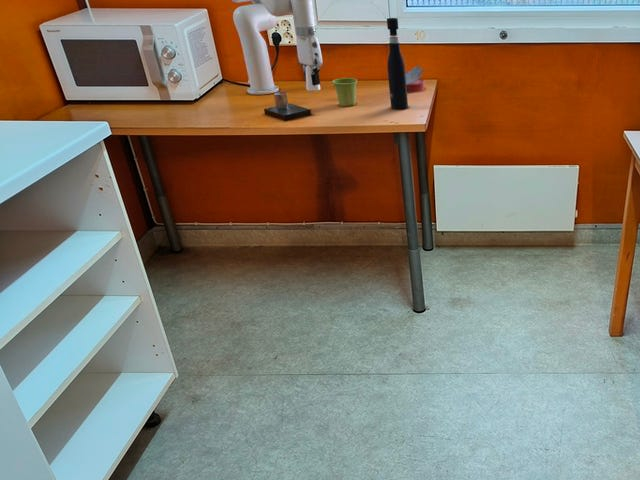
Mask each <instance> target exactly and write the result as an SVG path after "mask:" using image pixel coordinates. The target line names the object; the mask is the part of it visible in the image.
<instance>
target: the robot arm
mask: <svg viewBox="0 0 640 480" xmlns="http://www.w3.org/2000/svg"><path fill="white" fill-rule="evenodd" d="M230 1H231V2H233V3H236V4H237V3H249V2H251V4H245V5H240V6H238V7H237V8H236V9H234V11H233V13H232V14H233V15H232V19H233V23H234V26H235V28H236V31H237V33H238V37H239V40H240V44H241V48H242V53H243V59H244V62H245V67H246V72H247V77H248V80H247V84H249V86H250V87H248V88H247V89H246V91H247V94H249V95H257V96H259V95H271V94H274V93H277V92H280V91H279V90H280V88H279V86H277V85H275V82H274V77H273V72H272V67H271V61H270V56H269V51H268V45H267V42H266V40H265V38H264V37H263V35H262V34H261V33H260V32H264V31H269V30H272V29H274V28H276V26H277V23H278V17H283V16H284V17H285V16H292V17H293V18H292V19H293V24H294V31H295V32H294V33H295V38H296V39H295V41H296V52H297V58H298V63H299V64H300V66H301V68H302V72H303V74H304V75H303V76H304V81H305V83H306V66H307V65H309V66H310V67H311V72H312V74H311V78H312V85H319V84H321V79H320V71H321V69H322V68H323V66H322V65H323V55H322V51H321V46H320V41H319V38H318V35H317V30H316V29H317V28H316V21H315V20H316V19H315V14H314V12H315V11H314V5H313V0H230ZM313 67H315V68H313Z"/></svg>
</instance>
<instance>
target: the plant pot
mask: <svg viewBox="0 0 640 480" xmlns="http://www.w3.org/2000/svg"><path fill="white" fill-rule="evenodd" d="M331 82H332V84H333V87H334V88H335V91H336V97H337V100H338V103H339V106H341V107H350V106H355V105H356V103H357V102H356V100H357V98H356V96H357V94H356V93H357V82H358V79H357V78H352V77H340V78H336V79H333V80H332V81H331Z"/></svg>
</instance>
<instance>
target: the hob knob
mask: <svg viewBox="0 0 640 480" xmlns="http://www.w3.org/2000/svg"><path fill="white" fill-rule="evenodd" d="M273 97H274V102H275V106H276V108H277V109H286V108H288V107H289V106H288V103H289V100H288V96H287V92H286V91H277V92H275V93H273Z"/></svg>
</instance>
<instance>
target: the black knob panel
mask: <svg viewBox="0 0 640 480" xmlns="http://www.w3.org/2000/svg"><path fill="white" fill-rule="evenodd" d="M288 106H289V107H288V108H286V109H277V108H276V105H275V106H270V107H265V108H263V112H264V115H265V116H268V117H272V118H275V119H278V120H281V121H284V122H288V121H292V120H296V119H300V118H304V117H305V118H306V117H309V116H312V110H311V109H310V108H307V107H303V106H300V105H297V104H293V103H290V102H288Z"/></svg>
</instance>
